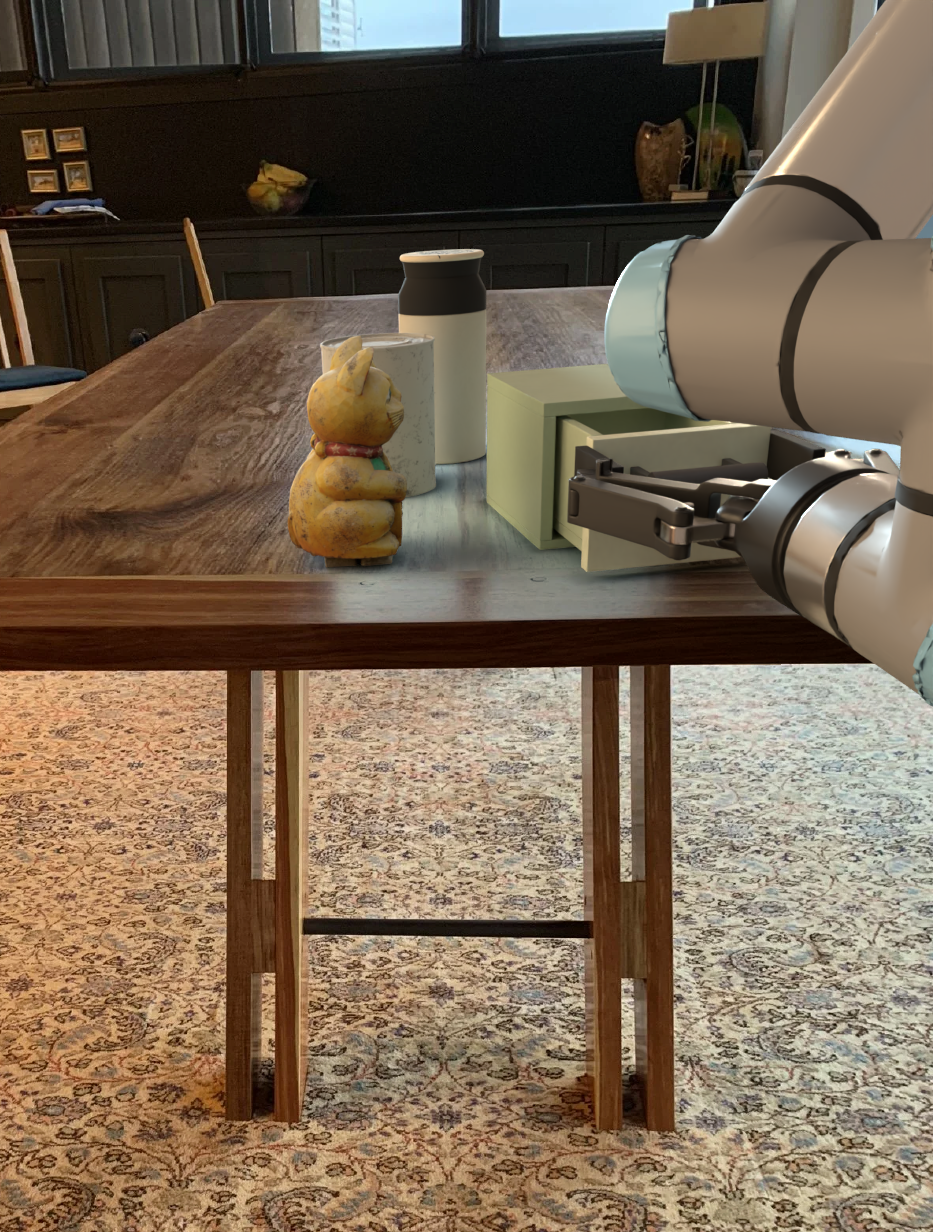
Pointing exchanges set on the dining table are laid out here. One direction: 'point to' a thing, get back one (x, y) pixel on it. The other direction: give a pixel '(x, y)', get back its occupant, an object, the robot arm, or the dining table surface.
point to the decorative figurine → (350, 465)
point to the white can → (405, 401)
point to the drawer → (652, 470)
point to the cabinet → (538, 439)
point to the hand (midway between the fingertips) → (673, 459)
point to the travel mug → (451, 344)
